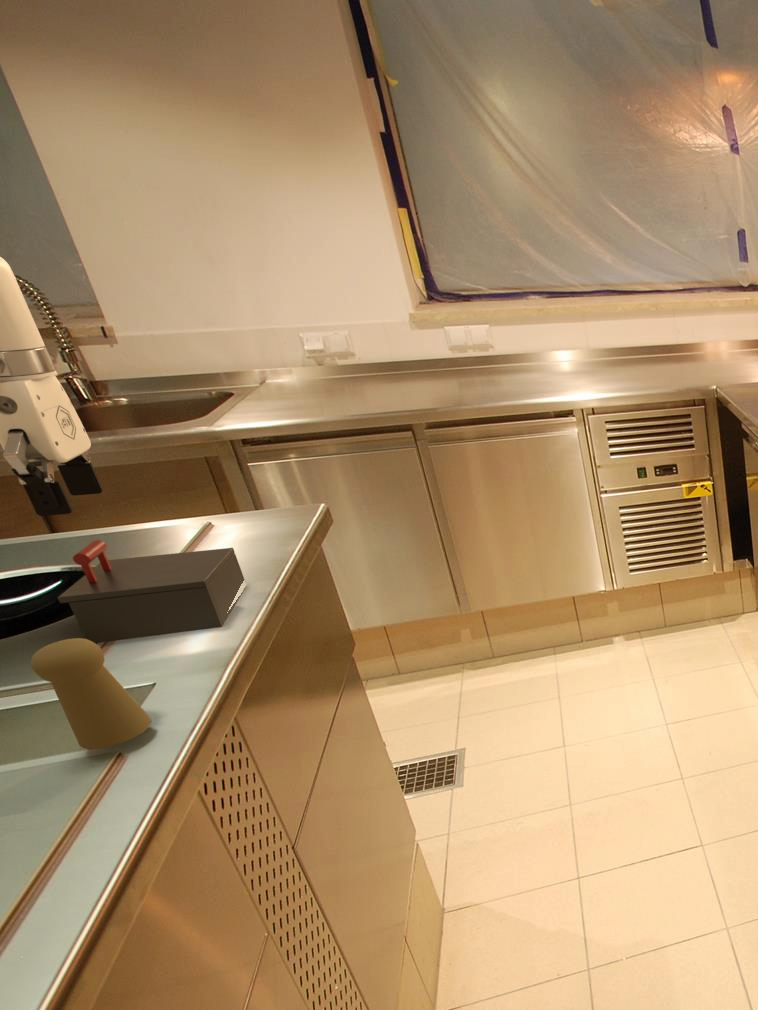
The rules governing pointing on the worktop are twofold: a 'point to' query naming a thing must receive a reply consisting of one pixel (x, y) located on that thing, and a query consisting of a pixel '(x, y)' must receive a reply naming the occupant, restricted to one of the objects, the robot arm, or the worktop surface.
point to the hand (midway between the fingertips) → (72, 503)
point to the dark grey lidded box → (161, 609)
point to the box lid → (142, 573)
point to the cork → (90, 694)
